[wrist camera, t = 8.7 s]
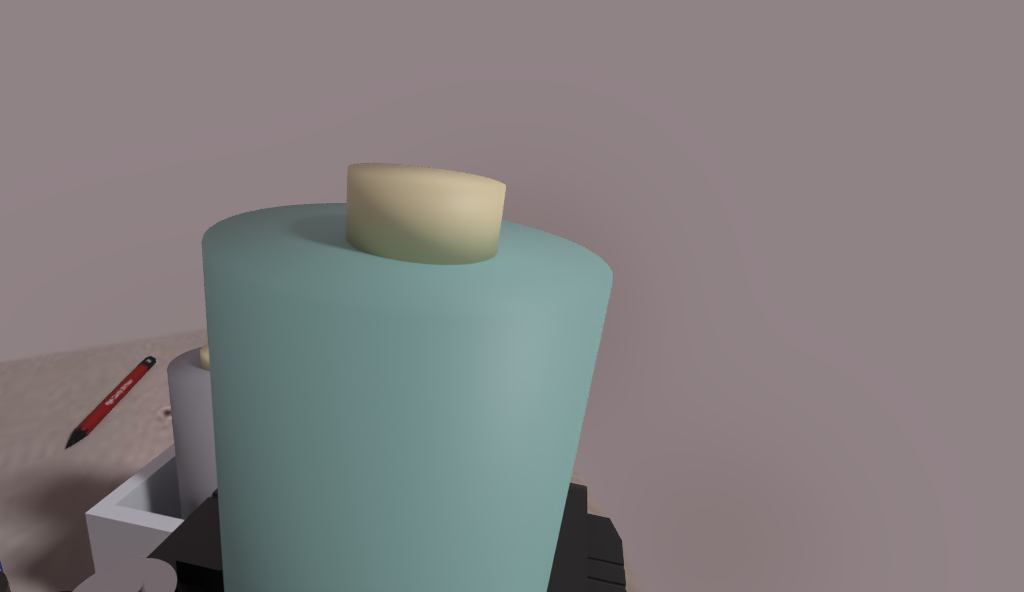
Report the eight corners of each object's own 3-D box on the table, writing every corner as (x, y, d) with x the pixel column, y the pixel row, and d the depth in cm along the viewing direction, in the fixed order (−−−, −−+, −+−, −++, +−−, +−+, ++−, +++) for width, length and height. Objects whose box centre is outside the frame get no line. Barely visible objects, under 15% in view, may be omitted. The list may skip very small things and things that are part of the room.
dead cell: (167, 583, 28) (141, 361, 23) (222, 522, 32) (209, 324, 28) (245, 601, 28) (234, 379, 23) (290, 537, 32) (288, 339, 27)
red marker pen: (59, 454, 37) (57, 443, 37) (146, 364, 50) (145, 355, 50) (73, 454, 38) (71, 442, 37) (156, 365, 50) (155, 356, 50)
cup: (103, 619, 27) (85, 513, 24) (214, 504, 35) (208, 416, 32) (258, 655, 26) (254, 550, 24) (335, 529, 34) (337, 442, 32)
